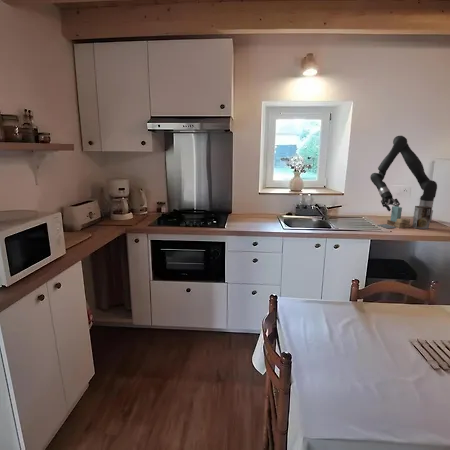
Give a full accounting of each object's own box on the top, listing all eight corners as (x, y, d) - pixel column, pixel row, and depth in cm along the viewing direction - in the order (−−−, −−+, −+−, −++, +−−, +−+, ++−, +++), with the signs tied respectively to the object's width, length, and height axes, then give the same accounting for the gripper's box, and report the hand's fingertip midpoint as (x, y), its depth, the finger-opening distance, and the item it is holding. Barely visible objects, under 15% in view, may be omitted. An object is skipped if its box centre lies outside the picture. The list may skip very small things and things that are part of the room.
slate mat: (386, 225, 249) (386, 224, 249) (396, 228, 240) (396, 227, 240) (377, 225, 247) (377, 224, 247) (387, 228, 238) (387, 227, 238)
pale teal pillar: (393, 223, 253) (395, 206, 250) (399, 225, 248) (402, 207, 244) (389, 224, 252) (392, 206, 249) (395, 225, 247) (398, 207, 244)
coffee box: (424, 227, 244) (427, 205, 240) (428, 229, 237) (432, 207, 233) (411, 226, 244) (414, 205, 241) (415, 228, 238) (419, 207, 234)
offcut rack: (396, 223, 255) (397, 215, 254) (409, 227, 243) (411, 219, 241) (385, 223, 252) (386, 216, 251) (398, 228, 240) (400, 220, 238)
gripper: (380, 191, 252) (389, 208, 244) (395, 190, 256) (405, 207, 248) (375, 196, 259) (383, 213, 251) (389, 196, 262) (398, 212, 254)
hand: (394, 210), depth 249 cm, fingers open, 8 cm apart
